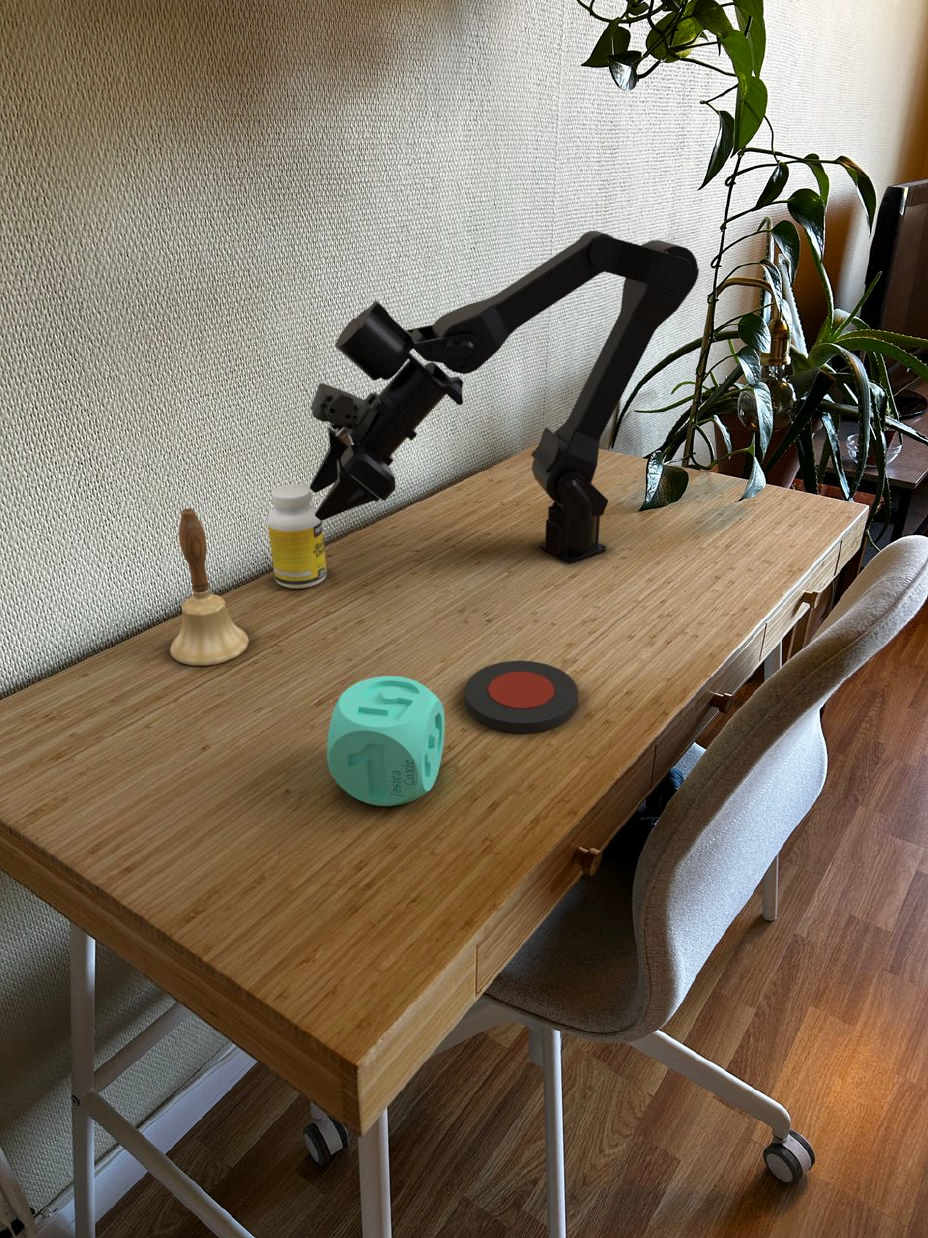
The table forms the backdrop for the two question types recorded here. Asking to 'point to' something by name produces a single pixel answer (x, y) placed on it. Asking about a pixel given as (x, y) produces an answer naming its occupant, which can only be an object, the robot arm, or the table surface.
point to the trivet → (521, 697)
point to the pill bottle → (296, 538)
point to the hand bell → (203, 608)
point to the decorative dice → (386, 740)
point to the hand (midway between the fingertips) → (315, 503)
